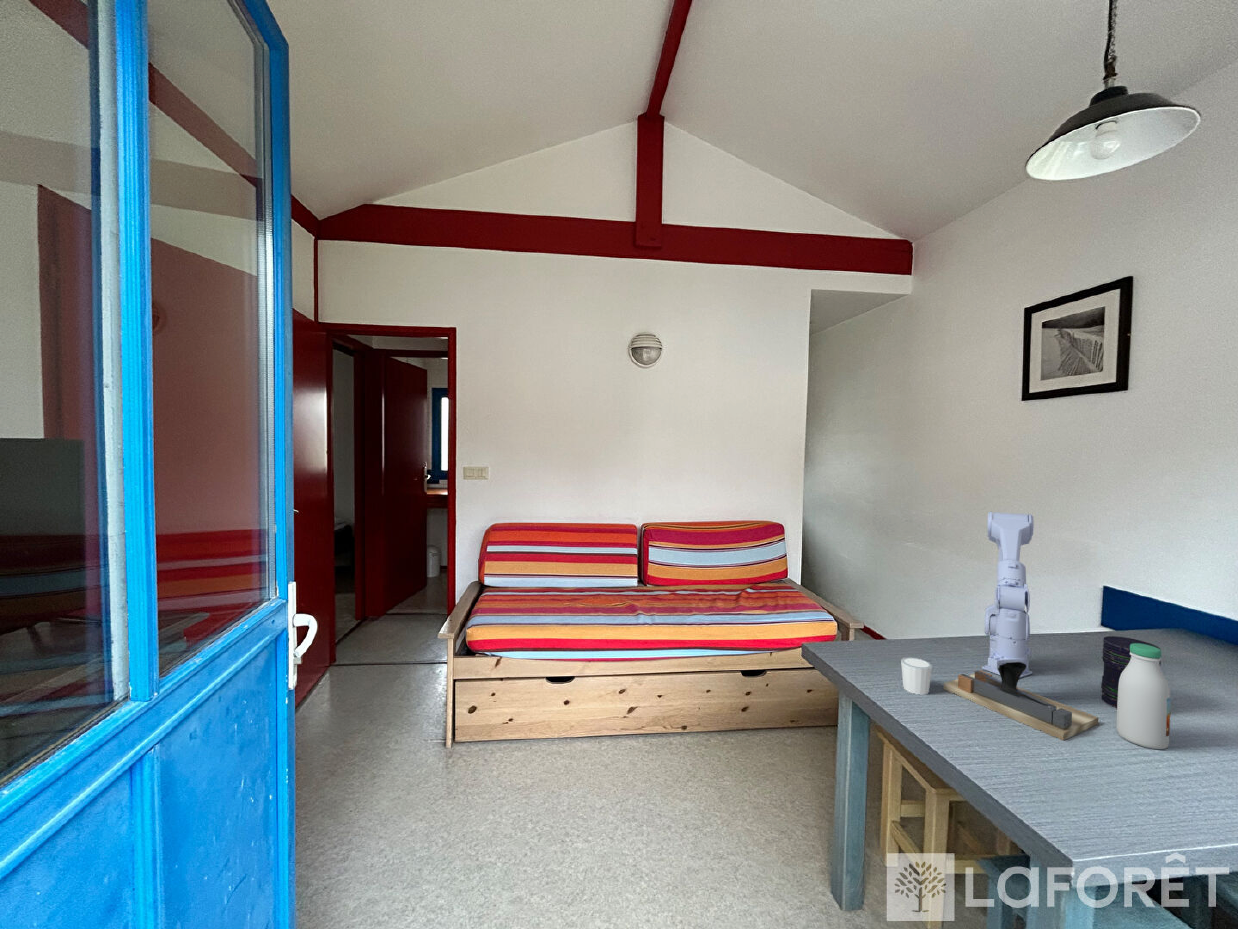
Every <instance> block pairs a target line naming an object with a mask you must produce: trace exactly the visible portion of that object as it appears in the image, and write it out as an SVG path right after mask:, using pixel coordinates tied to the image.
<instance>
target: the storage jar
mask: <svg viewBox="0 0 1238 929" xmlns="http://www.w3.org/2000/svg"><path fill="white" fill-rule="evenodd" d="M1102 640H1103V641H1102V642H1103V644H1102V651H1101V653H1102V657H1101V659H1102V661H1103V675H1102V676H1101V683H1100V688H1101V696H1100V698H1101V700H1102V701H1103V702H1104V703H1105V704H1106V705H1108V706H1110V707H1112V708H1115V709H1117V702H1118V686H1119V679H1120V676H1121V673H1122V672H1123V670H1124V669H1125V668H1126V667H1127V665H1128V664H1129V662H1130V659H1131V655H1130V645H1131V644H1133V643H1138V644H1145V645H1150V646H1153V647H1156V648H1158V649H1160V650H1161V651H1162V649H1161V648H1160V647H1159V646H1157V645H1155V644H1153V643H1151V642H1147V641H1144V640H1139V639H1136V638H1130V637H1125V636H1117V635H1116V636H1115V635H1114V636H1113V635H1111V636H1104V637H1103V639H1102ZM1161 662H1162V660H1161V661H1159V665H1160V666H1162V665H1161V664H1162V663H1161Z"/></svg>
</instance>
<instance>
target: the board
mask: <svg viewBox="0 0 1238 929" xmlns="http://www.w3.org/2000/svg"><path fill="white" fill-rule="evenodd" d="M968 676H970V677H972V678H975V673H972V674H970V675H968ZM1017 689H1019V690H1021V691H1023V692H1026V693H1028V694H1030V695H1032V696H1034V697H1036V698H1038V699H1041V700H1043V701H1045V702H1047V703H1049V704H1052V705H1055V706H1056V707H1057V709H1060V708H1062V709H1065V710H1067V711H1070V712H1072V726H1070V727H1068V728H1066V729H1062V728H1059V727H1057V726H1054V725H1053V724H1049V723H1047V722H1045V721H1042V720H1040V719H1037V718H1035V717H1033V716H1030V715H1028V714H1025V713H1023V712H1020V711H1018V710H1016V709H1013V708H1011V707H1008V706H1006V705H1003V704H1001V703H999V702H996V701H994V700H991V699H989V698H986V697H984V696H982V695H979V694H977V693H974V692H968V691H966V690H964V689H961V688H959V687H958V678H956V679H953V680H951V681H948V682H947V681H946V682H943V690H944V691H946V692H949V693H952V694H953V693H955V694H954V695H956V694H957V695H956V696H958V695H959V697H960V696H961V698H963V699H965V700H967V699H969V700H968V701H970V700H971V701H970V702H972V701H973V702H972V703H974V702H975V703H974V704H977V705H979V706H981V705H982V706H981V707H984V706H985V707H984V708H986V707H987V709H988V710H991V711H993V712H995V711H997V712H996V713H998V712H999V713H998V714H1001V715H1002V714H1003V716H1005V717H1007V718H1010V719H1012V720H1014V719H1015V720H1014V721H1016V720H1017V721H1016V722H1019V723H1022V724H1024V725H1026V726H1028V725H1029V726H1028V727H1031V728H1033V729H1035V730H1038V731H1040V730H1041V731H1040V732H1042V731H1043V732H1042V733H1045V734H1047V735H1049V736H1051V737H1054V736H1055V737H1054V738H1056V737H1057V739H1058V738H1059V740H1061V741H1065V740H1067V739H1066V738H1068V739H1070V738H1071V737H1070V736H1072V737H1074V736H1076V735H1078V734H1081V733H1083V732H1084V731H1086V730H1089V729H1091V728H1093V727H1095V726H1097V725H1099V717H1098V716H1096V715H1093V714H1091V713H1088V712H1086V711H1082V710H1079V709H1077V708H1075V707H1072V706H1070V705H1067V704H1064V703H1060V702H1059V701H1056V700H1053V699H1050V698H1048V697H1045V696H1043V695H1039V694H1037V693H1035V692H1032V691H1030V690H1027V689H1024V688H1021V687H1018V686H1017ZM1083 730H1084V731H1083ZM1069 737H1070V738H1069Z"/></svg>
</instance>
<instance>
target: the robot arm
mask: <svg viewBox="0 0 1238 929" xmlns="http://www.w3.org/2000/svg"><path fill="white" fill-rule="evenodd" d="M1034 523H1035V522H1034V516H1033V515H1032V514H1031V513H1026V514H1024V513H1013V512H1012V513H1011V512H998V511H997V512H993V511H989V512H988V513H987V524H986V525H987V527H986V529H987V531H986V532H987V538H988V540H989V541H990V542H993V543H995V544H996V546H997V549H998V563H997V564H996V586H995V588H994V603H992V604H989V605H988V606H986V608H985V614H984V634H985V635H986V636H987V637H989V657H987V664H986V665H984V666H981V670H985V671H988V672H991V673H993V674H996V675H999V676H1000V679H1001V681H1002V682H1004V683H1006V684H1009V685H1011V686H1013V687H1015V688H1017V687H1018V682H1019V680H1020V678H1023V677H1026V676H1029V675H1032V674H1033V671H1031V670H1029V665H1030V662H1029V660H1030V658H1032V649H1030V648H1029V646H1028V644H1027V643H1028V642H1029V641H1030V639H1031V624H1030V615H1029V614H1028V613H1029V610H1030V606H1031V605H1030V603H1031V602H1030V601H1031V597H1030V596H1031V595H1030V591H1029V590H1030V589H1029V586H1028V584H1027V570H1026V569H1027V568H1026V566H1025V565H1024V563H1022V562H1021V561H1020V558H1021V557H1020V556H1021V547H1022V546H1023V545H1029V544H1030V542H1031V541H1032V537H1033V535H1034V529H1035V528H1034ZM1025 607H1026V610H1025Z"/></svg>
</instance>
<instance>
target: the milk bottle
mask: <svg viewBox="0 0 1238 929" xmlns="http://www.w3.org/2000/svg"><path fill="white" fill-rule="evenodd" d="M1160 649H1161V648H1160ZM1160 649H1158V648H1156V647H1153V646H1150V645H1145V644H1138V643H1133V644H1131V645H1130V655H1131V659H1130V662H1129V664H1128V665H1127V667H1126V668H1125V669H1124V670H1123V672H1122V673H1121V676H1120V679H1119V686H1118V702H1117V708H1116V709H1117V710H1116V733H1117V734H1118V735H1119V736H1120V737H1121V738H1122V739H1124V740H1125V741H1127V742H1130V743H1132V744H1134V745H1138V746H1140V747H1143V748H1148V749H1151V750H1152V749H1153V750H1166V749H1167V748H1168V747H1169V744H1170V728H1171V724H1170V723H1171V688H1170V686H1169V683H1168V681H1167V679H1166V677H1165V676H1164V673H1163V671H1162V668H1161V665H1159V661H1161V662H1162V658H1161V657H1162V649H1161V650H1160Z"/></svg>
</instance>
